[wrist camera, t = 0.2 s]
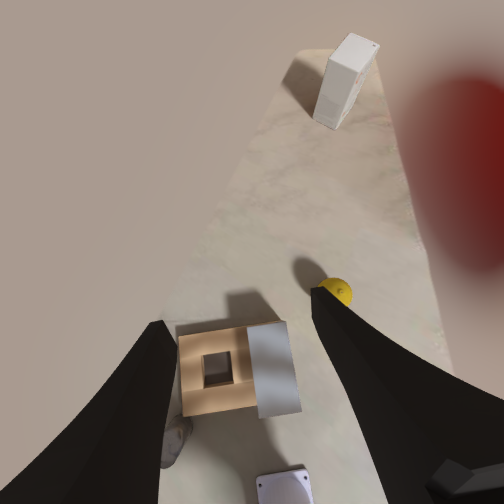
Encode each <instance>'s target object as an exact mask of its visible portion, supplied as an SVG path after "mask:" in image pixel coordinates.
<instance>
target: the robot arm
mask: <svg viewBox="0 0 504 504" xmlns="http://www.w3.org/2000/svg"><path fill="white" fill-rule="evenodd" d="M311 310H312V320H313V322H314V325H315V328H316V331H317V333H318V336H319V338H320V340H321V342H322V344H323V346H324V348H325V350H326V352H327V354H328V356H329V358H330V360H331V362H332V364H333V366H334V368H335V370H336V372H337V374H338V376H339V378H340V380H341V382H342V384H343V386H344V389H345V391H346V393H347V395H348V398H349V400H350V403H351V405H352V408H353V410H354V413H355V415H356V418H357V420H358V423H359V425H360V428H361V431H362V433H363V436H364V438H365V441H366V443H367V446H368V449H369V452H370V454H371V457H372V460H373V462H374V465H375V468H376V470H377V473H378V476H379V479H380V481H381V484H382V487H383V490H384V493H385V495H386V498H387V501H388V504H504V400H503V399H500V398H498V397H496V396H494V395H491V394H489V393H487V392H485V391H483V390H481V389H478V388H476V387H474V386H472V385H470V384H468V383H466V382H464V381H462V380H460V379H458V378H456V377H454V376H452V375H451V374H449V373H447V372H445V371H443V370H441V369H440V368H438V367H436V366H434V365H432V364H430V363H429V362H427V361H425V360H423V359H421V358H420V357H418V356H416V355H415V354H413V353H411V352H410V351H408V350H406V349H405V348H403V347H402V346H400V345H399V344H397V343H395V342H394V341H392V340H391V339H389V338H388V337H386V336H385V335H383V334H382V333H381V332H379V331H378V330H376V329H375V328H374V327H372V326H371V325H370V324H368V323H367V322H366V321H364V320H363V319H362V318H360V317H359V316H358V315H357V314H355V313H354V312H353V311H352V310H350V309H349V308H348V307H347V306H346V305H345V304H343V303H342V302H341V301H340V300H339V299H338V298H336V297H335V296H334V295H333V294H332V293H331V292H330V291H329V290H328V289H327V288H325V287H324V286H321V287H316V288H311ZM177 347H178V346H177V344H176V343H175V341H174V339H173V337H172V335H171V334H170V332H169V330H168V328H167V327H166V325H165V323H164V321H163V320H160V321H155V322H151V323H149V325H148V326H147V327H146V329H145V330H144V332H143V333H142V335H141V336H140V337H139V338H138V340H137V341H136V343H135V344H134V345H133V347H132V348H131V350H130V351H129V352H128V354H127V355H126V356H125V358H124V359H123V360H122V362H121V363H120V364H119V366H118V367H117V368H116V370H115V371H114V372H113V374H112V375H111V376H110V377H109V378H108V380H107V381H106V382H105V383H104V385H103V386H102V387H101V389H100V390H99V391H98V392H97V393H96V395H95V396H94V397H93V398H92V399H91V400H90V402H89V403H88V404H87V405H86V406H85V407H84V408H83V409H82V411H81V412H80V413H79V414H78V415H77V416H76V418H75V419H73V421H72V422H71V423H70V424H69V425H68V426H67V427H66V428H65V429H64V430H63V431H62V432H61V433H60V434H59V435H58V436H57V437H56V438H55V439H54V440H53V441H52V442H51V443H50V444H49V445H48V446H47V447H46V448H45V449H44V450H43V451H42V453H40V454H39V455H38V456H37V457H36V458H35V459H34V460H33V461H32V462H31V463H30V464H29V465H28V466H27V467H26V468H25V469H24V470H23V471H22V472H20V473H19V474H18V475H17V476H16V477H15V478H14V479H13V480H12V481H11V482H10V483H9V484H8V485H6V486H5V487H4V488H3V489H2V490H1V491H0V504H158V491H159V479H160V467H161V456H162V447H163V437H164V430H165V423H166V418H167V413H168V408H169V403H170V397H171V392H172V387H173V382H174V377H175V371H176V363H177ZM304 476H307V478H304ZM256 484H257V492H258V500H259V504H313V498H312V492H311V486H310V481H309V475H308V471H307V469H298V470H292V471H286V472H280V473H274V474H268V475H262V476H258V477H257V478H256ZM259 484H261V486H259Z"/></svg>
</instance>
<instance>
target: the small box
mask: <svg viewBox="0 0 504 504" xmlns="http://www.w3.org/2000/svg"><path fill="white" fill-rule="evenodd" d="M379 47H380V45H379V44H377V43H375V42H372V41H370V40H368V39H365V38H363V37H360V36H358V35H356V34H353V33H349V34H348V35H347V37H346V38H345V39H344V40H343V41H342V43H341V44H340V45H339V46H338V47H337V49H336V50H335V51H334V52H333V53H332V55H331V56H330V57H329V58H328V62H327V66H326V70H325V73H324V77H323V81H322V84H321V88H320V92H319V95H318V99H317V103H316V106H315V110H314V113H313V117H312V118H313V119H314V120H316V121H318V122H320V123H322V124H324V125H325V126H327V127H329V128H331V129H333V130H336V129H337V127H338V126H339V125H340V123H341V122H342V121H343V119H344V118H345V116H346V115H347V114H348V112H349V111H350V110H351V108H352V106H353V104H354V102H355V99H356V97H357V95H358V93H359V90H360V88H361V86H362V84H363V82H364V80H365V77H366V75H367V73H368V71H369V69H370V67H371V64H372V62H373V60H374V58H375V56H376V53H377V51H378V49H379Z"/></svg>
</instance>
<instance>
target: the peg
mask: <svg viewBox="0 0 504 504" xmlns="http://www.w3.org/2000/svg"><path fill="white" fill-rule="evenodd" d="M192 428H193V424H192V420H191V418H190V417H189V416H187V417H183V414H179V415H177V416H176V417H175V418H174V419H173V420H172V421H171V423H170V424H169V425H168V427H167V428H166V429H165V430H164V437H163V447H162V456H161V467H160V468H161V469H166V468H169V467H170V466H172V465H173V464H174V462H175V461H176V459H177V457H178V456H179V454H180V452H181V450H182V448H183V446H184V445H185V443H186V441H187V439H188V437H189V436H190V434H191V432H192Z"/></svg>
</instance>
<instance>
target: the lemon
mask: <svg viewBox="0 0 504 504" xmlns="http://www.w3.org/2000/svg"><path fill="white" fill-rule="evenodd" d="M321 286H324V287H325V288H327V289H328V290H329V291H330V292H331V293H332V294H333V295H334V296H335V297H336V298H338V299H339V300H340V301H341V302H342V303H343V304H345V305H346V306H348V305H349V304H350V302H351V300H352V290H351V288H350V286H349V285H348V283H346V282H345V281H344V280H342V279H339V278H328V279H325V280H323V281H322V282H321V283H320V284H319V285H318V287H321Z"/></svg>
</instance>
